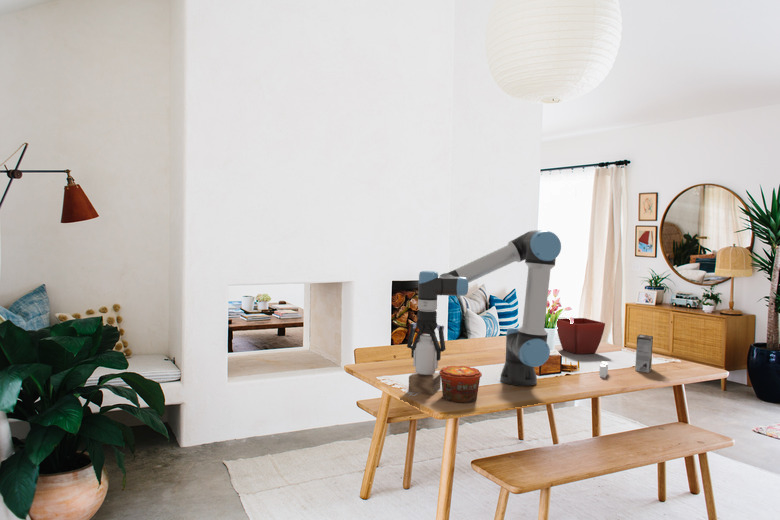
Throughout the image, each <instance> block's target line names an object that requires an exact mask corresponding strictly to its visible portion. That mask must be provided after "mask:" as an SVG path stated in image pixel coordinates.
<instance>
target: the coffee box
mask: <svg viewBox="0 0 780 520" xmlns="http://www.w3.org/2000/svg"><path fill="white" fill-rule="evenodd" d="M653 339H654V336H653V335H647V334H638V335H637V337H636V349H635V350H636V351H635V352H636V353H635V364H634V365H635V367H634V368H635V372H641V373H642V372H644V373H650V371H651V370H652V367H653V366H652V365H653V363H652V362H653V342H654V341H653Z"/></svg>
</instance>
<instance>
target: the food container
mask: <svg viewBox="0 0 780 520" xmlns="http://www.w3.org/2000/svg"><path fill="white" fill-rule="evenodd" d="M438 373H440V374H441V391H442V392H441V393H442V398H443V399H444V401H448V402H452V403H459V404H461V403H462V404H464V403H472V402H475V401H477V399H478V394H479V386H480V379H481V377H482V375H483V374H482V372H481V371H480V370H479V369H478V368H475V367H470V366H465V365H459V366H456V365H448V366H446V367H442V368H441V369H440V370H439V371H438Z"/></svg>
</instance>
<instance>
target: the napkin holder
mask: <svg viewBox="0 0 780 520" xmlns="http://www.w3.org/2000/svg"><path fill="white" fill-rule="evenodd" d="M608 371H609V364H608V361H604V360H603V361H601V363H599V373H598V376H599V378H606V377H607V376H608Z"/></svg>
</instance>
